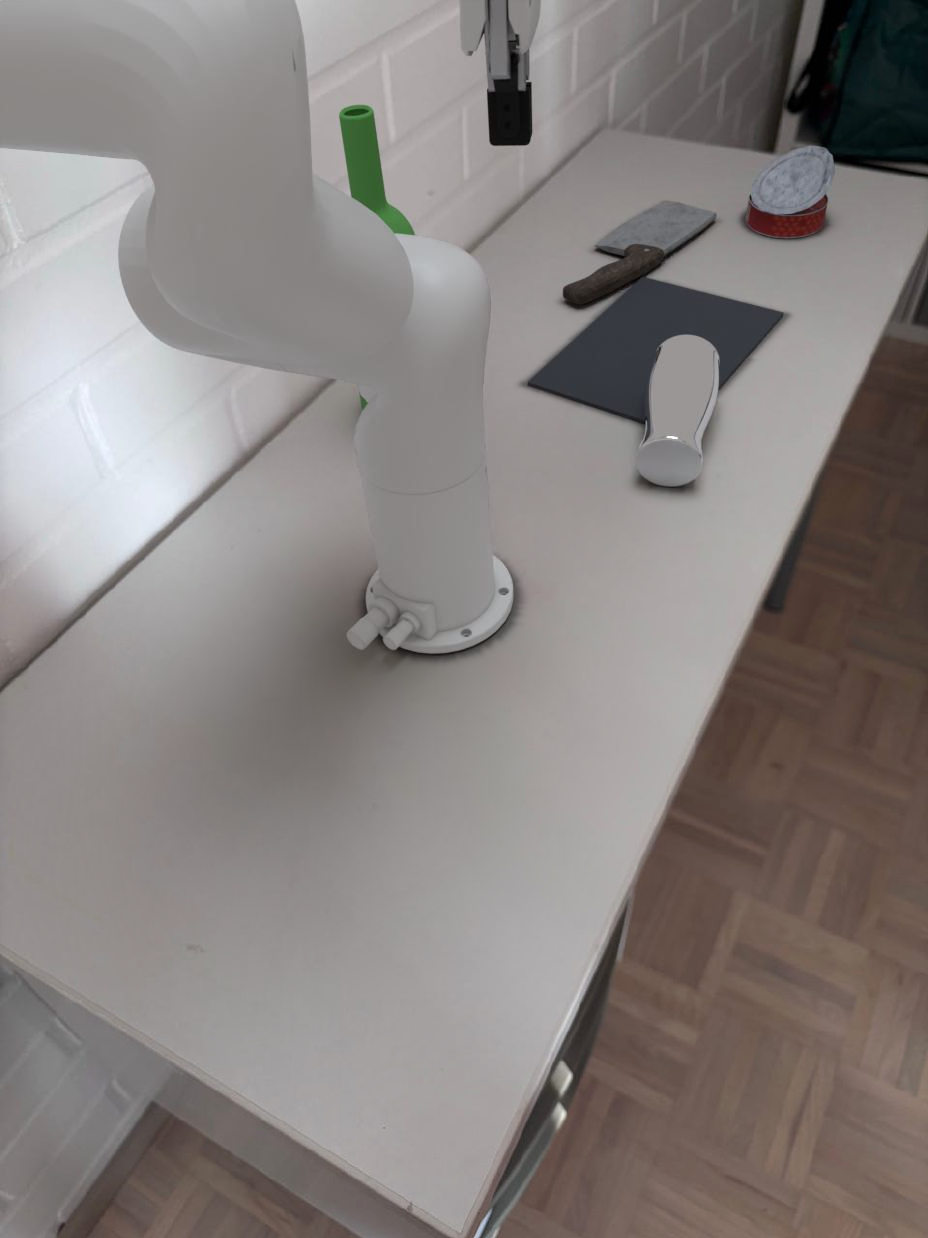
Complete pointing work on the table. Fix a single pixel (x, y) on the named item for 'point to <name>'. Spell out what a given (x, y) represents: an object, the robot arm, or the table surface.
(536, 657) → the table surface
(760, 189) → the canned food
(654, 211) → the cleaver
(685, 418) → the beer glass
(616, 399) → the mat
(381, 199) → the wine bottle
